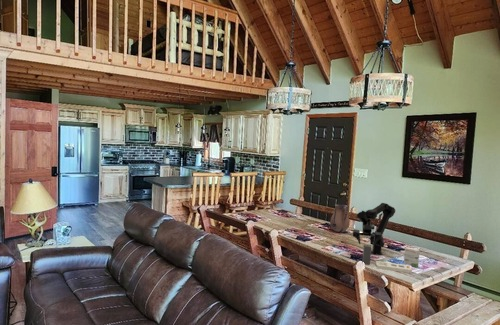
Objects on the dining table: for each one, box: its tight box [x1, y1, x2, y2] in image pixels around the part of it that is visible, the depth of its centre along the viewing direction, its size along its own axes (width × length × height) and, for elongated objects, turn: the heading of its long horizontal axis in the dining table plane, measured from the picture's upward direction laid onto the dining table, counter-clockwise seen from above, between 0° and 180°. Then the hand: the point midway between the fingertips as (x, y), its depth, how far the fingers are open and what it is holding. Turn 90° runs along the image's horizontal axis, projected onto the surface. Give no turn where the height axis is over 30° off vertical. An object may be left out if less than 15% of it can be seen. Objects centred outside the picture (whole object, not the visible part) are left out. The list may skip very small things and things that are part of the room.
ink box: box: [403, 246, 420, 269], centre depth 233 cm, size 9×5×12 cm, turn 47°
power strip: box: [374, 260, 413, 274], centre depth 222 cm, size 21×9×4 cm, turn 76°
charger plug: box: [362, 244, 372, 266], centre depth 229 cm, size 4×4×13 cm
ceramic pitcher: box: [329, 203, 350, 233], centre depth 316 cm, size 18×21×25 cm
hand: (366, 245), depth 233 cm, fingers open, 9 cm apart
